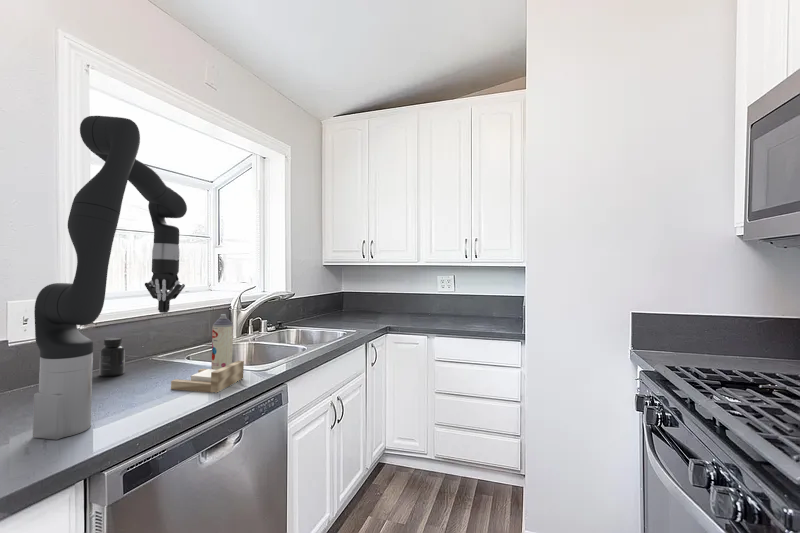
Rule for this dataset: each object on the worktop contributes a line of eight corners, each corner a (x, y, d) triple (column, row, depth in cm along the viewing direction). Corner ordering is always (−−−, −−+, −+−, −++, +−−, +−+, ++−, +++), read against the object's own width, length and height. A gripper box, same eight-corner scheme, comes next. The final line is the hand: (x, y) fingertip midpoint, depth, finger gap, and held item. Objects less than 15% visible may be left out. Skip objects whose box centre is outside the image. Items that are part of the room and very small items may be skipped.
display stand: (216, 392, 119) (217, 372, 119) (170, 389, 122) (171, 369, 122) (243, 378, 134) (243, 361, 134) (201, 375, 136) (202, 358, 136)
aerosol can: (209, 368, 146) (211, 313, 145) (230, 366, 149) (231, 313, 149) (212, 373, 140) (214, 316, 140) (233, 371, 144) (235, 315, 143)
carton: (211, 390, 122) (212, 377, 122) (190, 388, 124) (191, 375, 124) (227, 383, 130) (227, 370, 130) (207, 381, 132) (207, 369, 132)
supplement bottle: (128, 374, 136) (129, 338, 136) (104, 378, 130) (105, 341, 130) (118, 370, 140) (119, 336, 140) (95, 374, 134) (96, 338, 134)
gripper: (138, 257, 125) (135, 312, 125) (176, 258, 123) (174, 314, 123) (156, 258, 133) (154, 310, 133) (192, 259, 131) (190, 312, 131)
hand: (163, 312), depth 128 cm, fingers closed
